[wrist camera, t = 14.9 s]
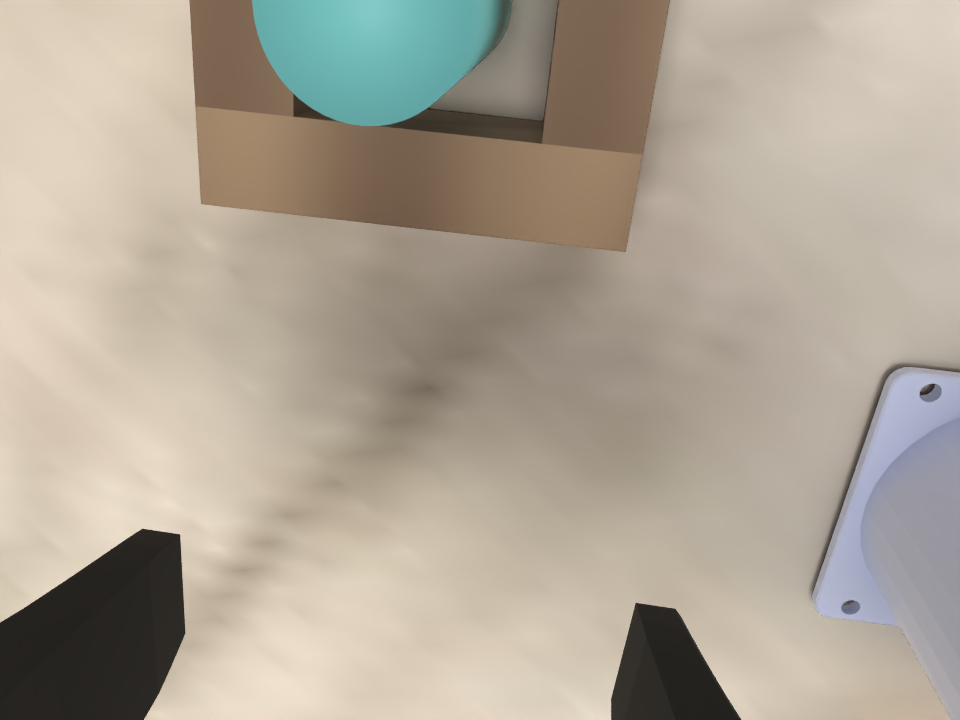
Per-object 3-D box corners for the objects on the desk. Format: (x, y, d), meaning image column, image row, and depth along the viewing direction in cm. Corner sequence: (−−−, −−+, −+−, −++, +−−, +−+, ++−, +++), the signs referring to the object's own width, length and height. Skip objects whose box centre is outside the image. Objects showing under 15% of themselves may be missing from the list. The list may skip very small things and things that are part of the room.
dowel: (524, -62, 17) (493, -95, 10) (497, 82, 18) (454, 145, 11) (387, -90, 17) (259, -143, 10) (371, 56, 19) (246, 102, 11)
